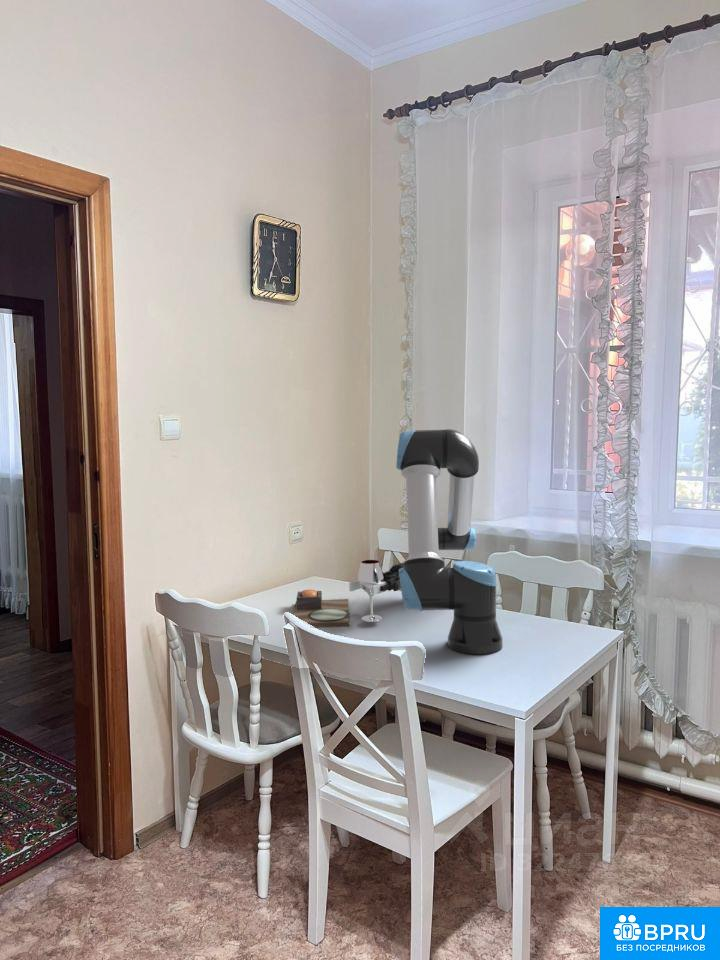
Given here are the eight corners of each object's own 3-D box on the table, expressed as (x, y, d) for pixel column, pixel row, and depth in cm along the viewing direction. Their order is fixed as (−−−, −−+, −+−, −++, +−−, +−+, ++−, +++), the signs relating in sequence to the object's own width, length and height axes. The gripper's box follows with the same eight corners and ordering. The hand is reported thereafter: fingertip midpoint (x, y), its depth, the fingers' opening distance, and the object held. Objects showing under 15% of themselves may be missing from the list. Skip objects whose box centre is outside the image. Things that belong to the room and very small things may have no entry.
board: (349, 626, 221) (348, 609, 220) (290, 628, 220) (290, 611, 220) (348, 602, 247) (347, 587, 246) (296, 604, 246) (295, 589, 246)
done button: (316, 602, 237) (316, 593, 236) (301, 603, 237) (301, 593, 236) (317, 598, 242) (316, 589, 241) (302, 599, 242) (302, 589, 241)
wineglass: (385, 622, 218) (384, 564, 216) (358, 623, 218) (357, 565, 216) (384, 614, 226) (383, 558, 224) (358, 615, 226) (357, 559, 224)
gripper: (431, 589, 229) (389, 606, 211) (379, 581, 242) (335, 596, 224) (430, 566, 228) (388, 581, 210) (378, 559, 241) (334, 572, 223)
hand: (361, 588), depth 217 cm, fingers closed on wineglass, 8 cm apart
